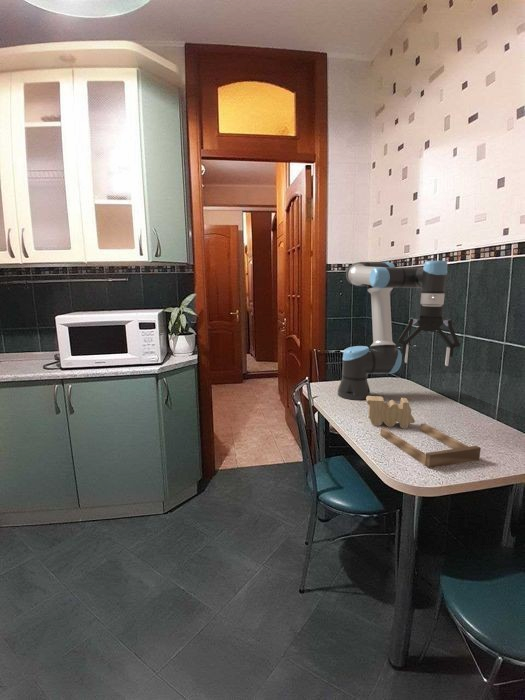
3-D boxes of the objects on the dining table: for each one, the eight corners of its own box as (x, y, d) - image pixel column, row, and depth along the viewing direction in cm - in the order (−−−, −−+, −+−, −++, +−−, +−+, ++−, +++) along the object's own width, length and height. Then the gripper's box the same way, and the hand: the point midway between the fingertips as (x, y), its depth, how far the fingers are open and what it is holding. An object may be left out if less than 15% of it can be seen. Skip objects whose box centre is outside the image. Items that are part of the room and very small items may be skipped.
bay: (380, 435, 122) (380, 424, 121) (423, 429, 126) (424, 419, 126) (428, 468, 99) (429, 455, 99) (479, 460, 104) (480, 447, 103)
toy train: (414, 429, 127) (416, 403, 125) (365, 425, 131) (367, 399, 129) (411, 423, 132) (413, 398, 131) (364, 419, 136) (366, 395, 134)
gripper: (394, 305, 125) (389, 362, 129) (474, 307, 116) (466, 369, 120) (394, 303, 132) (389, 358, 136) (469, 305, 123) (462, 364, 127)
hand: (425, 363), depth 128 cm, fingers open, 13 cm apart
